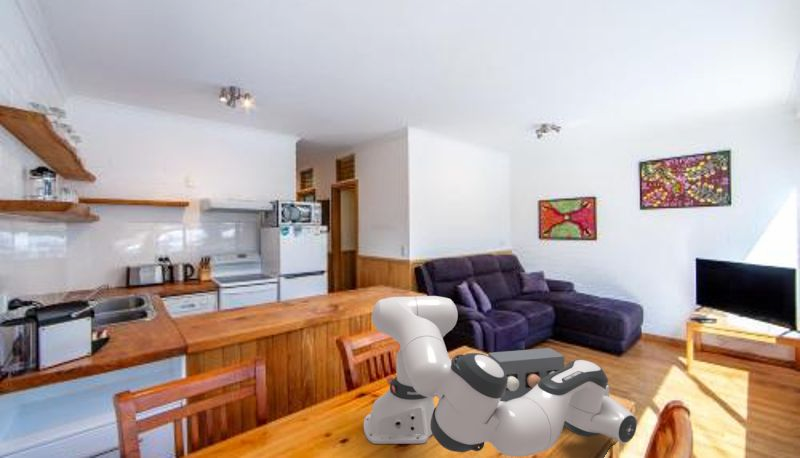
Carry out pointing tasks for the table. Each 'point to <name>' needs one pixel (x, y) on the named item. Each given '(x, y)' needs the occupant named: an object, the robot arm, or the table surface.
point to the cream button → (512, 383)
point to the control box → (526, 367)
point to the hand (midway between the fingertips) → (554, 378)
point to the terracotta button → (533, 380)
